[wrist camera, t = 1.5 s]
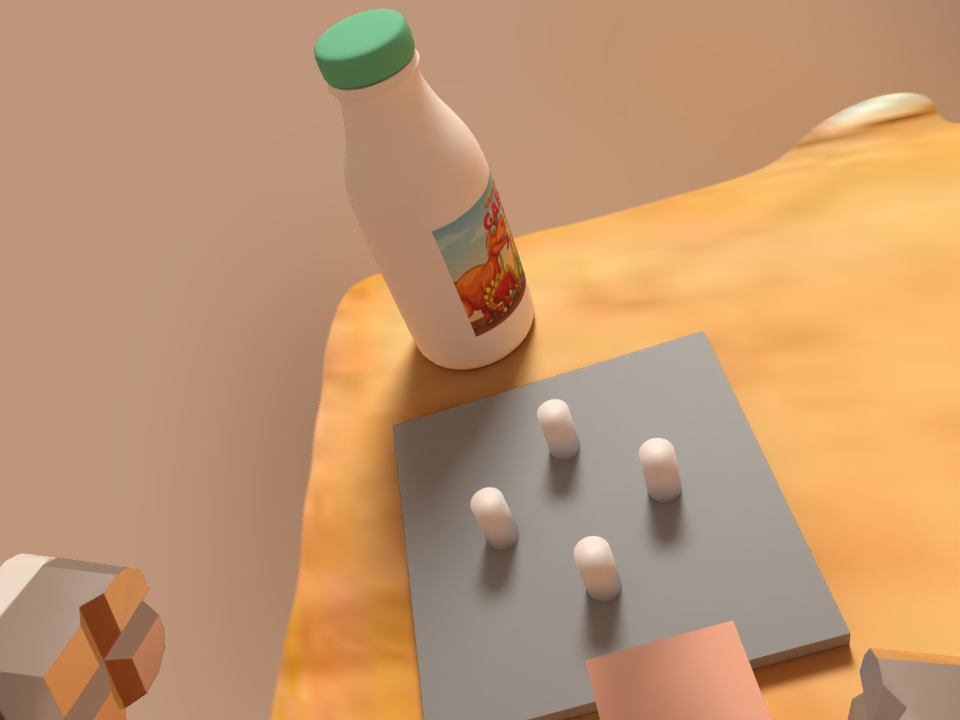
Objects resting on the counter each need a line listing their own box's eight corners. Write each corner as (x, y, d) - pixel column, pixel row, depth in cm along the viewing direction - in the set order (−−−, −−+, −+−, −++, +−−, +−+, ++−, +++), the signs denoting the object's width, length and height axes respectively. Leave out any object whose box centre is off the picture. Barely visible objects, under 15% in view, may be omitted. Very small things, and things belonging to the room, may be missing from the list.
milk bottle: (446, 395, 51) (306, 100, 37) (399, 322, 57) (261, 40, 43) (559, 331, 52) (464, 21, 38) (502, 265, 58) (401, -29, 43)
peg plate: (705, 343, 49) (698, 291, 46) (849, 643, 36) (852, 599, 33) (398, 435, 50) (374, 392, 47) (434, 754, 38) (403, 720, 35)
